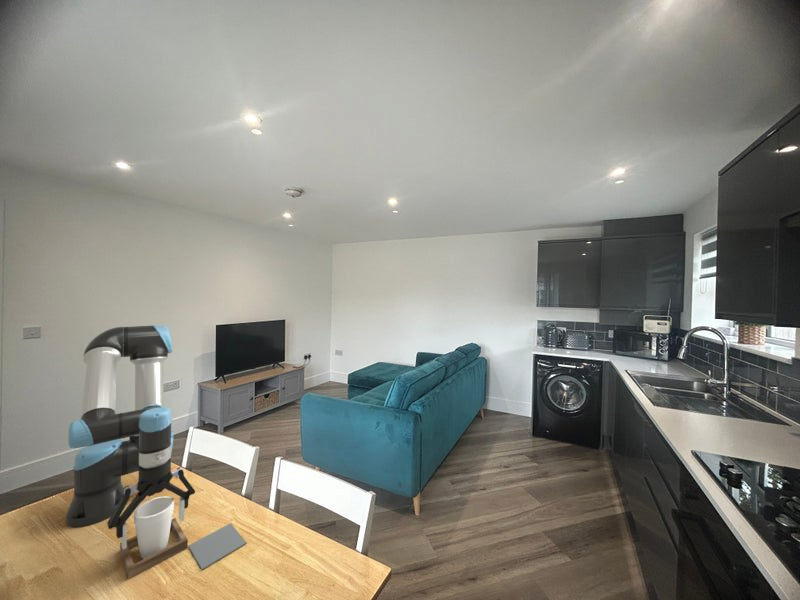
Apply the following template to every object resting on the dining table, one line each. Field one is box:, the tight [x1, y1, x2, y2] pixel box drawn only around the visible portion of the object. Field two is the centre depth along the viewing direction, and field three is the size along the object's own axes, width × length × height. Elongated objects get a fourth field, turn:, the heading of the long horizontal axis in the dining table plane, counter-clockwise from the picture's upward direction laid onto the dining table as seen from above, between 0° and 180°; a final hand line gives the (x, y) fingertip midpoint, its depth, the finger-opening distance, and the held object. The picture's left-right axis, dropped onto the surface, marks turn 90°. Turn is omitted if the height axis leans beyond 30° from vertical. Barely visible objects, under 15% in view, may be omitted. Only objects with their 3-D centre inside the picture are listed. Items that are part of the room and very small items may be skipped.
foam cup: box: [133, 495, 175, 560], centre depth 90 cm, size 10×9×13 cm
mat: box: [188, 523, 247, 571], centre depth 92 cm, size 12×12×1 cm
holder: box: [119, 517, 189, 580], centre depth 90 cm, size 13×13×2 cm
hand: (154, 532), depth 90 cm, fingers open, 13 cm apart
